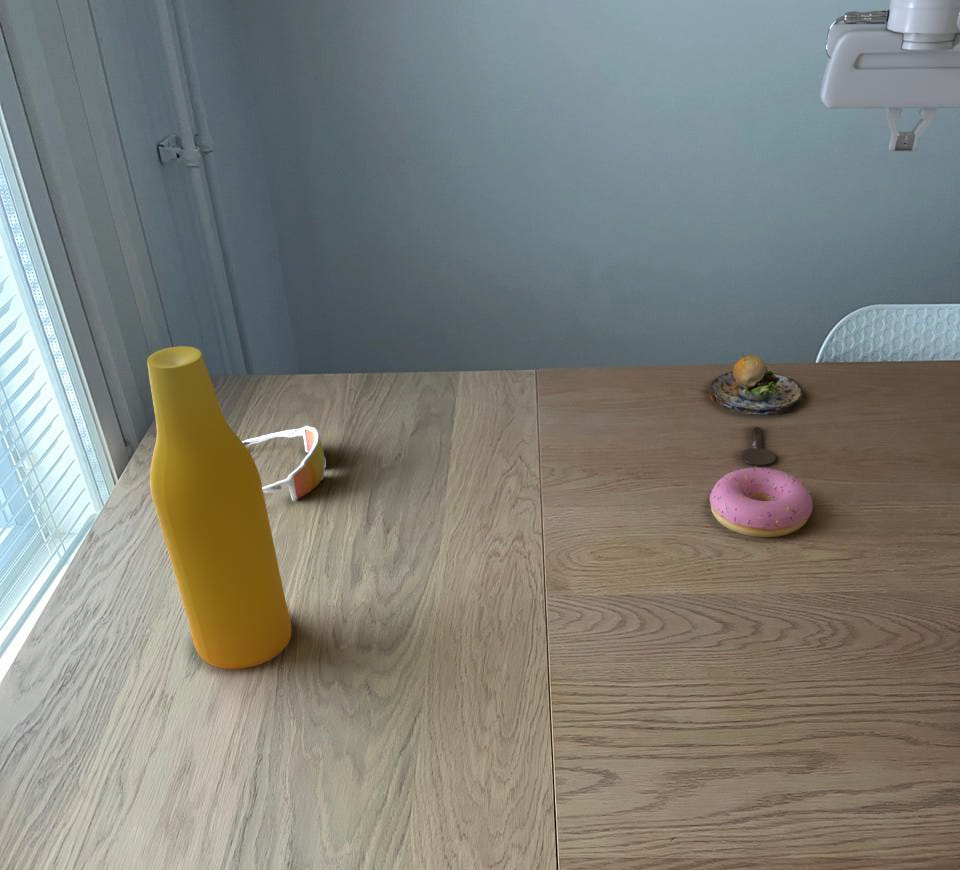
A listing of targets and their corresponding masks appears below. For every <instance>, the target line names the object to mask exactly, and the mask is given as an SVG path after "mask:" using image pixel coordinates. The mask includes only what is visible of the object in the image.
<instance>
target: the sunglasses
mask: <svg viewBox="0 0 960 870" xmlns="http://www.w3.org/2000/svg"><path fill="white" fill-rule="evenodd" d="M295 437H296V438H297V437H302V438H303V443H304V451H305V452H306V453H307V455H305V457H304V458H303V460H302V461H300V464H299V466H298V467H296V468H295V469H294V470H293V471H291V472H290V473H289V474H288V476H287V478H284V479H282V480H279V481H276V482H273V483H271V484H268V485H265V486H262V489H263V494H267V493H270V494H271V493H278V492H280V491H281V490H285V489H289V494H290V497H291V501H293V502H295V501H298V500H299V499H301V498H302V497H304V496H306V495H307V494H309V493H310V492H312V491H313V490H314V489H315V488H316V487H318V485H319V484H320V483H321V481H323V480H324V476H325V470H326V467H327V459H326V457H325V454H324V448H323V445H322V441H321V439H320V433H319V431H318V430H317V428H316V427H314V426H313V427H312V426H311V425H310V426H309V425H304V426H302V427H299V428H291V429H285V430H281V431H276V432H270V433H267V434H263V435H260V436H256V437H251V438H248V439H245V440H241V441H242V442H243V444H244V445H245V446H246V447H247V446H251V445H254V444H260V443H263V442H264V441H268V440H271V439H275V438H290V439H292V438H295Z"/></svg>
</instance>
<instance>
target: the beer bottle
mask: <svg viewBox="0 0 960 870" xmlns="http://www.w3.org/2000/svg"><path fill="white" fill-rule="evenodd" d="M146 364H147V370H148V378H149V384H150V385H149V386H150V391H151V399H152V404H153V411H154V417H155V426H156V438H155V439H156V440H155V445H154V448H153V452H152V457H151V462H150V467H149V468H150V469H149V486H150V488H149V489H150V495H151V499H152V504H153V507H154V510H155V512H156V517H157V519H158V522H159V526H160V530H161V533H162V536H163V539H164V543H165V546H166V549H167V550H166V551H167V553H168V557H169V560H170V563H171V567H172V571H173V574H174V577H175V581H176V584H177V588H178V592H179V595H180V598H181V601H182V605H183V608H184V612H185V615H186V619H187V623H188V625H189V630H190V635H191V639H192V642H193V646H194V648H195V650H196V652H197V655H199V657H200V658H201V659H202V661H203V662H205V663H207V664H208V665H210V666H213V667H215V668H219V669H224V670H240V669H241V670H242V669H249V668H253V667H257V666H260V665H262V664H264V663H266V662H269V661H271V660H272V659H274V658H275V657H277V656H278V655H280V654H281V653H282V652H283V651H284V649H285V648H286V647H288V644H289V643H290V640H291V637H292V620H291V616H290V612H289V609H288V604H287V600H286V596H285V592H284V587H283V586H284V585H283V582H282V577H281V572H280V571H281V570H280V566H279V562H278V557H277V552H276V548H275V543H274V538H273V533H272V529H271V524H270V519H269V514H268V510H267V509H268V508H267V504H266V499H265V495H264V494H265V493H263V489H262V487H263V483H262V479H261V475H260V472H259V469H258V467H257V465H256V462H255V459H254V458H253V456H252V453H251V452H250V451H249V449H248V448H247V446H245V445H244V444H243V442H242V441H243V440H241V438H240V437H239V436H238V434H236V432H235V431H234V430H233V429H232V427H231V426H230V425H229V423H228V422H227V420H226V418H225V416H224V413H223V410H222V408H221V406H220V402H219V400H218V396H217V393H216V391H215V388H214V385H213V382H212V380H211V376H210V373H209V371H208V368H207V365H206V363H205V359H204V357H203V354H202V352H201V350H200V349H199V348H196V347H194V346H184V345H181V346H180V345H179V346H172V347H167V348H163V349H160V350H157V351H155V352H153V353H152V354H151V355H149V356H148V357H147V359H146Z"/></svg>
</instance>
